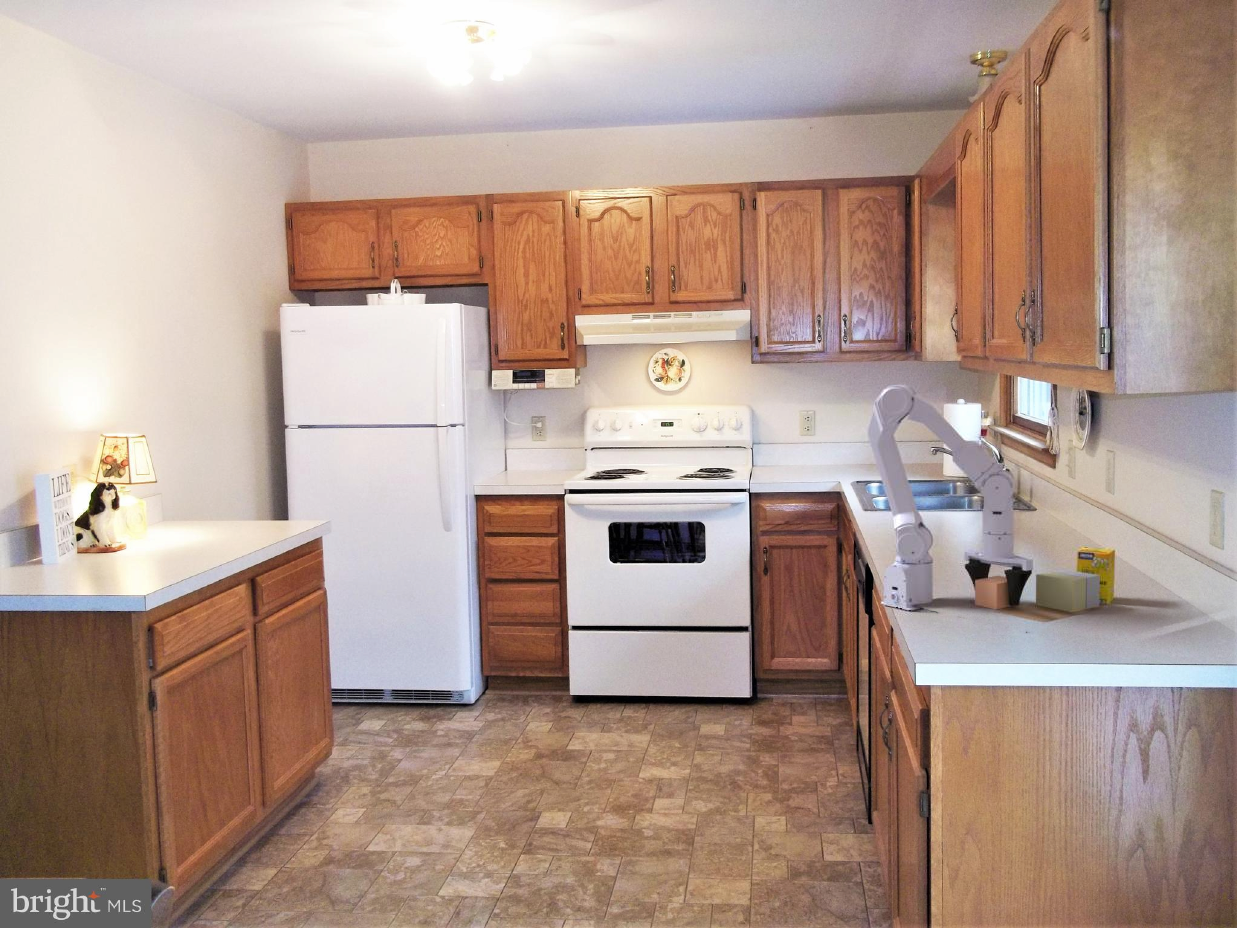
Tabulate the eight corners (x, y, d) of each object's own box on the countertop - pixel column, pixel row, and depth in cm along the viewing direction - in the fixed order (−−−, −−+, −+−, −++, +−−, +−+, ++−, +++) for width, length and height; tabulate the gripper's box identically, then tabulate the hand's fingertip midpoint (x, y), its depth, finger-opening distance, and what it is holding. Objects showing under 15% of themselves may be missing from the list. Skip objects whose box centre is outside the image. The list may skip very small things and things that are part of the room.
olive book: (1072, 612, 206) (1073, 580, 206) (1035, 605, 213) (1036, 574, 212) (1085, 609, 208) (1086, 578, 208) (1048, 602, 215) (1049, 571, 214)
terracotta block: (996, 614, 210) (996, 583, 210) (975, 610, 215) (975, 579, 214) (1019, 609, 214) (1020, 579, 214) (998, 605, 218) (998, 575, 218)
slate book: (1086, 609, 208) (1087, 577, 208) (1049, 601, 215) (1050, 571, 215) (1099, 606, 211) (1099, 575, 210) (1062, 599, 217) (1062, 569, 217)
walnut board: (1044, 627, 199) (1044, 622, 199) (993, 616, 208) (993, 611, 208) (1108, 612, 210) (1108, 606, 210) (1057, 602, 219) (1058, 597, 219)
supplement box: (1075, 606, 216) (1076, 550, 215) (1082, 600, 221) (1082, 546, 220) (1108, 609, 212) (1109, 553, 211) (1114, 603, 217) (1115, 548, 216)
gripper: (1043, 534, 209) (1042, 605, 210) (980, 526, 221) (980, 593, 222) (1019, 538, 205) (1019, 610, 206) (957, 530, 217) (957, 597, 219)
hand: (997, 601), depth 214 cm, fingers open, 7 cm apart
